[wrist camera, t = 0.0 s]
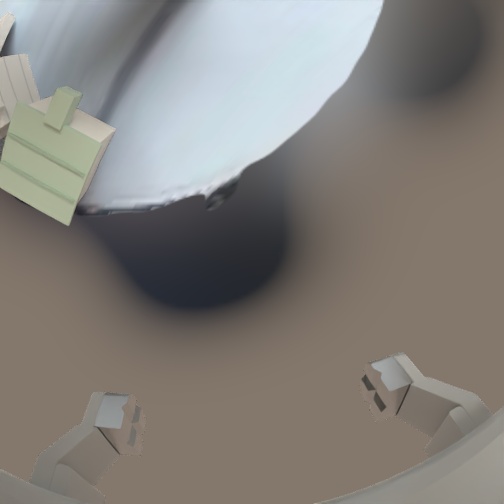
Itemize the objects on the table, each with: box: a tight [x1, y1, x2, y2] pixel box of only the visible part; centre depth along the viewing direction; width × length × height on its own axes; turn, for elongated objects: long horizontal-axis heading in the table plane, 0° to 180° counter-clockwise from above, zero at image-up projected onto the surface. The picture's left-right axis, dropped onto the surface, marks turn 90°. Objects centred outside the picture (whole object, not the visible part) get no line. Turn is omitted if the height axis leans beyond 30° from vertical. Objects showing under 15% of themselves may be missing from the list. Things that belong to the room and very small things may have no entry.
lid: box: [0, 86, 103, 226], centre depth 35 cm, size 24×20×4 cm
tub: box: [29, 96, 116, 202], centre depth 41 cm, size 16×18×12 cm
